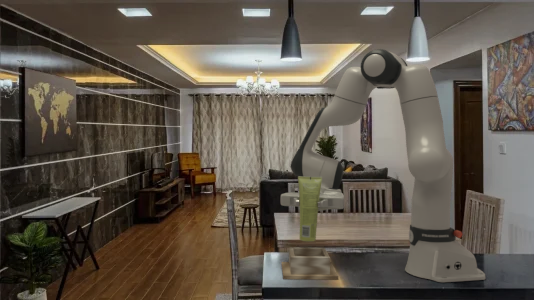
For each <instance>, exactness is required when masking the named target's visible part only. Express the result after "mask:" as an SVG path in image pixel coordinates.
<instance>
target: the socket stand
mask: <svg viewBox="0 0 534 300" xmlns="http://www.w3.org/2000/svg"><path fill="white" fill-rule="evenodd" d="M281 271H282V279H283V280H334V281H335V280H339V274H338V273H337V271H336V269H335V266H334V265H333V263H332V262H331V257H330V255H329V253H328V251H327V249H326V248H325V247H292V246H291V247H290V246H289V247H288V261H281Z"/></svg>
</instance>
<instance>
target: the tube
mask: <svg viewBox="0 0 534 300" xmlns="http://www.w3.org/2000/svg"><path fill="white" fill-rule="evenodd" d="M297 182H298V193H299V199H300V207H299V240H300V241H302V242H308V243H309V242H315V241H316V239H317V226H318V215H319V211H318V201H319V196H320V189H321V182H322V177H302V176H297Z"/></svg>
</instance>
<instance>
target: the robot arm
mask: <svg viewBox="0 0 534 300" xmlns="http://www.w3.org/2000/svg"><path fill="white" fill-rule="evenodd" d="M375 89H382V90H383V89H395V90H396V92H397V94H398V97H399V104H400V109H401V114H402V120H403V125H404V131H405V143H406V144H405V147H406V153H407V154H406V155H407V164H408V165H407V166H408V171H409V172H410V175H412V176H413V177H414V182H413V183H414V184H413V190H412V196H411V210H410V211H411V216H410V217H411V220H410V221H411V222H410V223H411V224H409V232H408V237H409V238H408V240H409V251H408V257H407V262H406V265H405V268H404V271H405V272H406V273H407V274H410V275H411V276H414V277H418V278H422V279H426V280H427V279H428V280H431V281H434V282H438V283H451V282H453V283H454V282H469V281H482V280H483V281H484V280H486V273H485V272H484V271H482V270H481V269H480V268H478V264H477V259H476V257H475V255H474V253H472V252H471V251H470V250H469V249H468V248H466V247H465V246H464V245H463V244H461V243H460V242H459V241H458V240H457V239H456V238H458V239H461V238H462V237H463V235H464V234H463V232H462V230H458V229H454V228H452V227H451V197H452V190H453V189H452V186H453V173H454V172H453V169H454V160H453V156H452V153H451V152H450V150H449V149H447V145H446V139H445V131H444V120H443V116H442V110H441V107H440V100H439V96H438V92H437V91H438V90H437V88H436V84H435V81H434V78H433V76H432V73H431V70H429V68H428V67H427V66H425V65H422V64H412V65H408V63H407V62H406V60H404V59H403V58H402V57H400V56H398V55H397V54H396V53H395V52H391V51H388V50H386V49H381V48H380V49H379V48H378V49H373V50H371V51H369V52H367V53H366V54H365V55H364V56H363V58H362V59H361V62H360V66H351V67H348V68H347V69H346V70H345V71H344V73H343V75H342V76H341V78H340V81H339V82H338V85H337V88H336V90H335V93H334V96H333V98H332V100H331V102H330V103H329V104H328V105H327V106H325V107H321V108H320V110H319V111H318V112H317V114H316V115H315V117H314V118H313V121H312V122H311V124H310V126H309V128H308V130H307V131H306V134H305V136H304V137H303V139H302V142H301V143H300V145H299V147H298V149H297V151H296V152H295V154H293V156H292V158H291V161H290V166H289V167H290V169H291V172H292V173H293V174H294V176H295V177H298V176H302V177H322V182H321V189H320V196H319V201H318V212H321V211H327V210H343V209H344V208H345V195H344V193H342V189H340V186H341V183H342V180H343V176H344V167H343V164H342V163H341V161H340V160H338V159H335V158H331V157H329V156H325V155H322V154H319V153H316V152H314V151H313V147H314V145H315V143H316V141H317V139H318V137H319V136H320V134H321V132H322V131H323V129H325V128H329V127H338V126H339V127H340V126H341V127H342V126H350V125H352V124H353V125H354V124H356V122H358V121H359V120H361V118H362V116H363V115H364V113H365V109H366V107H367V104H368V100H369V98H370V95H371V93H372V92H373V91H374V90H375ZM280 205H281V206H282V207H283V206H284V207H299V208H300V199H299V192H294V191H293V192H292V191H291V192H285V193H281V194H280Z"/></svg>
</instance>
